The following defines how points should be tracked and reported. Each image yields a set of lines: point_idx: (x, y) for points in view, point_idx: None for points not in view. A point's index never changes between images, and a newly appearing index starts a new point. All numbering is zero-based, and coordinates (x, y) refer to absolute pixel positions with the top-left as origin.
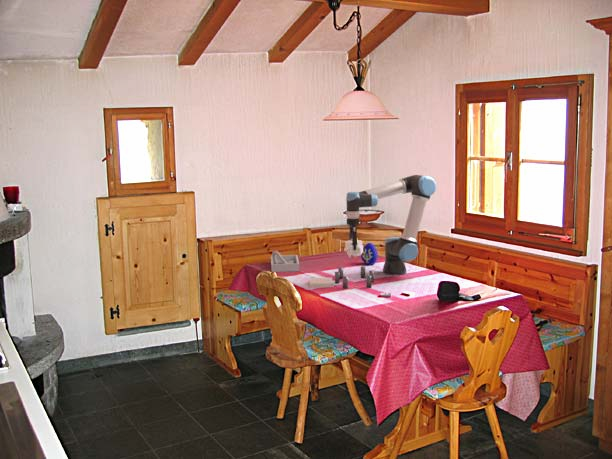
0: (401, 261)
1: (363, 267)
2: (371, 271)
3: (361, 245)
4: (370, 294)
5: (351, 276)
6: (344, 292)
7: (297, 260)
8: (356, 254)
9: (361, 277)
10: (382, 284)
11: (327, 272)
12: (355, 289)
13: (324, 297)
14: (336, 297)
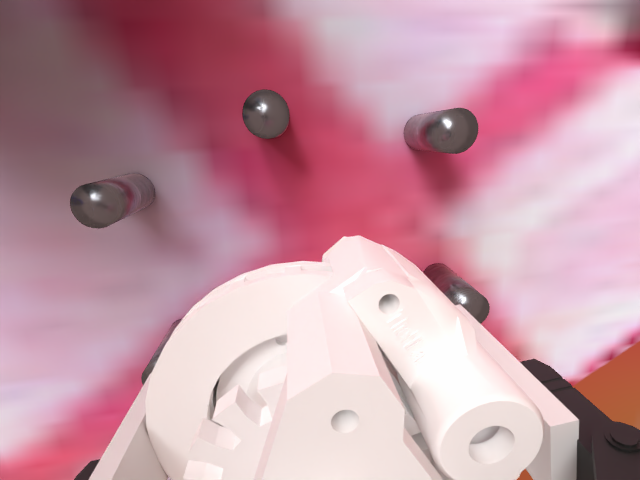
0: None
1: (115, 200)
2: (284, 114)
3: (421, 312)
4: (595, 112)
5: (111, 274)
6: (529, 271)
7: None
8: (465, 315)
9: (151, 202)
10: (331, 30)
11: (28, 429)
12: (466, 215)
13: (614, 354)
14: (625, 299)
